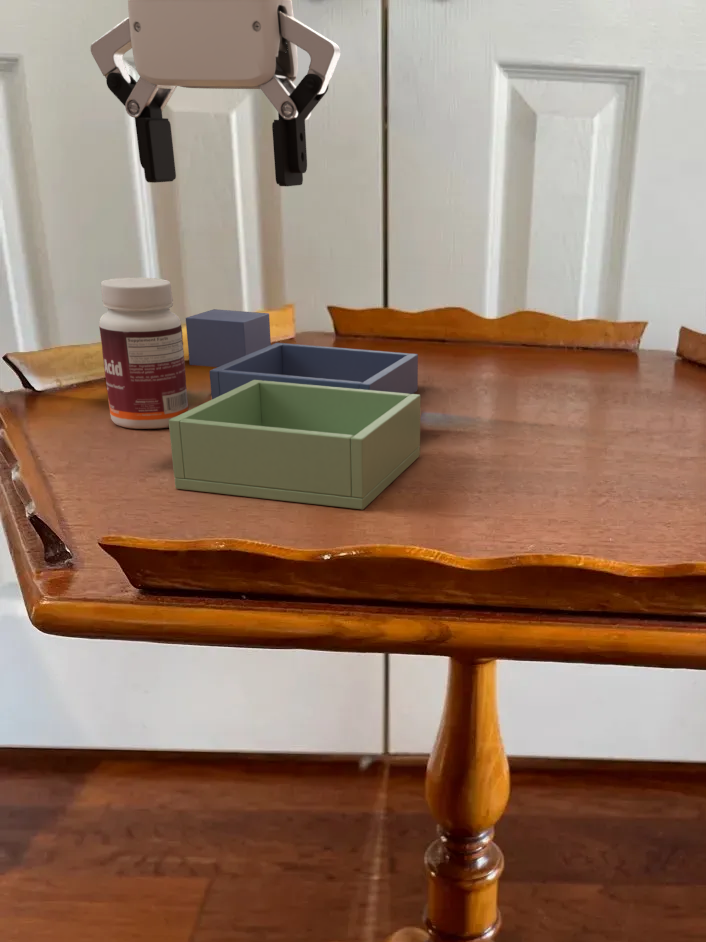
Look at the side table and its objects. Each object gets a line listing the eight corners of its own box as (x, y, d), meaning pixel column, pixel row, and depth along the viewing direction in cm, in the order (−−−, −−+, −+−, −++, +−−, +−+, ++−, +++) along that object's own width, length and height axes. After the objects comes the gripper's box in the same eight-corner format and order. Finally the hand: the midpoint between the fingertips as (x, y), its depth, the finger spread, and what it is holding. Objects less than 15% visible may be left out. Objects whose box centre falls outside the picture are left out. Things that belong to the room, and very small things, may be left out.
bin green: (174, 489, 53) (168, 419, 51) (257, 439, 62) (253, 379, 60) (363, 510, 51) (362, 438, 49) (420, 456, 60) (420, 394, 58)
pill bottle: (104, 415, 66) (87, 277, 62) (180, 409, 68) (167, 275, 64) (118, 433, 62) (100, 288, 58) (197, 426, 64) (185, 285, 60)
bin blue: (213, 429, 64) (209, 370, 62) (279, 394, 72) (276, 342, 71) (370, 444, 62) (369, 384, 60) (417, 407, 71) (418, 354, 69)
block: (190, 380, 75) (185, 317, 73) (218, 369, 79) (213, 309, 77) (247, 386, 75) (243, 322, 73) (272, 374, 78) (269, 313, 76)
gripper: (351, -110, 65) (361, 184, 73) (106, -102, 68) (139, 178, 76) (307, -138, 59) (322, 189, 66) (38, -128, 62) (82, 182, 69)
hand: (224, 183), depth 71 cm, fingers open, 9 cm apart
